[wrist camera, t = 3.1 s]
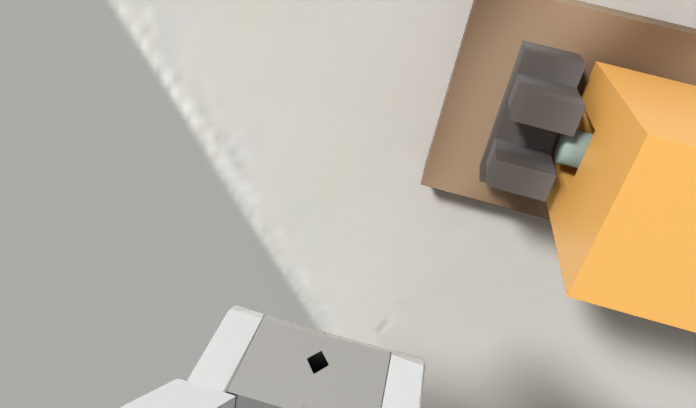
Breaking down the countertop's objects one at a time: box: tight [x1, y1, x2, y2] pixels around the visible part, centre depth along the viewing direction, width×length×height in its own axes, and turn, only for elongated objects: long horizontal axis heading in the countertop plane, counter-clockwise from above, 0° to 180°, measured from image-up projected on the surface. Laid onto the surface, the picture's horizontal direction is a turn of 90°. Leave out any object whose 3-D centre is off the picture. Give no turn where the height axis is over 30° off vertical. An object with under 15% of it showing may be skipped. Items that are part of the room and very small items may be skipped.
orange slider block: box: [546, 61, 696, 333], centre depth 18 cm, size 5×5×7 cm
